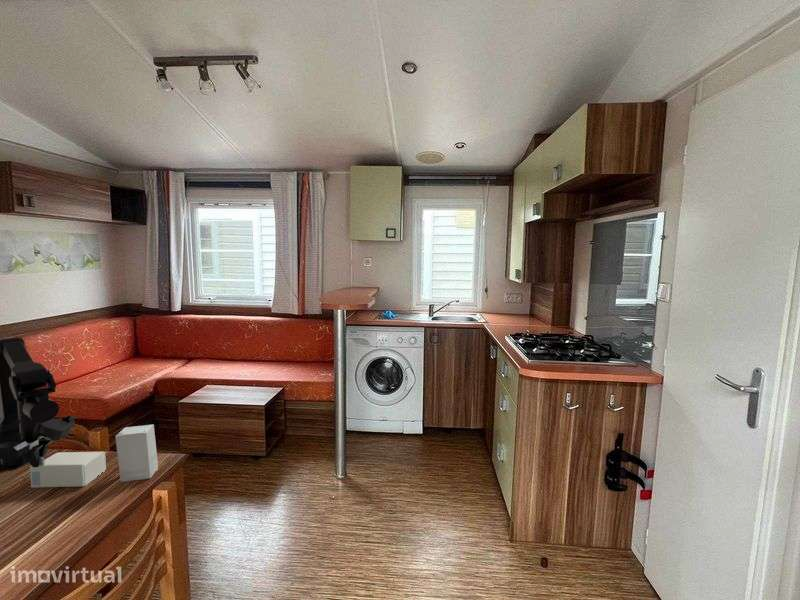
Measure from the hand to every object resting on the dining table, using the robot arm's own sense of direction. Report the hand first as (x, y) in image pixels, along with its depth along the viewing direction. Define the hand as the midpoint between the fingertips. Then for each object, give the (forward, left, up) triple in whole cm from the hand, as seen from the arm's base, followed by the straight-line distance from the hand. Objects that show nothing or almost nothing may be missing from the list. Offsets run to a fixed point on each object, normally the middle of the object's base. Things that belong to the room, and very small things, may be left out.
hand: (37, 466), depth 102 cm
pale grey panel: (+5, 0, -6) cm, 8 cm away
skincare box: (+24, +5, -7) cm, 25 cm away
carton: (+5, +5, -7) cm, 9 cm away
